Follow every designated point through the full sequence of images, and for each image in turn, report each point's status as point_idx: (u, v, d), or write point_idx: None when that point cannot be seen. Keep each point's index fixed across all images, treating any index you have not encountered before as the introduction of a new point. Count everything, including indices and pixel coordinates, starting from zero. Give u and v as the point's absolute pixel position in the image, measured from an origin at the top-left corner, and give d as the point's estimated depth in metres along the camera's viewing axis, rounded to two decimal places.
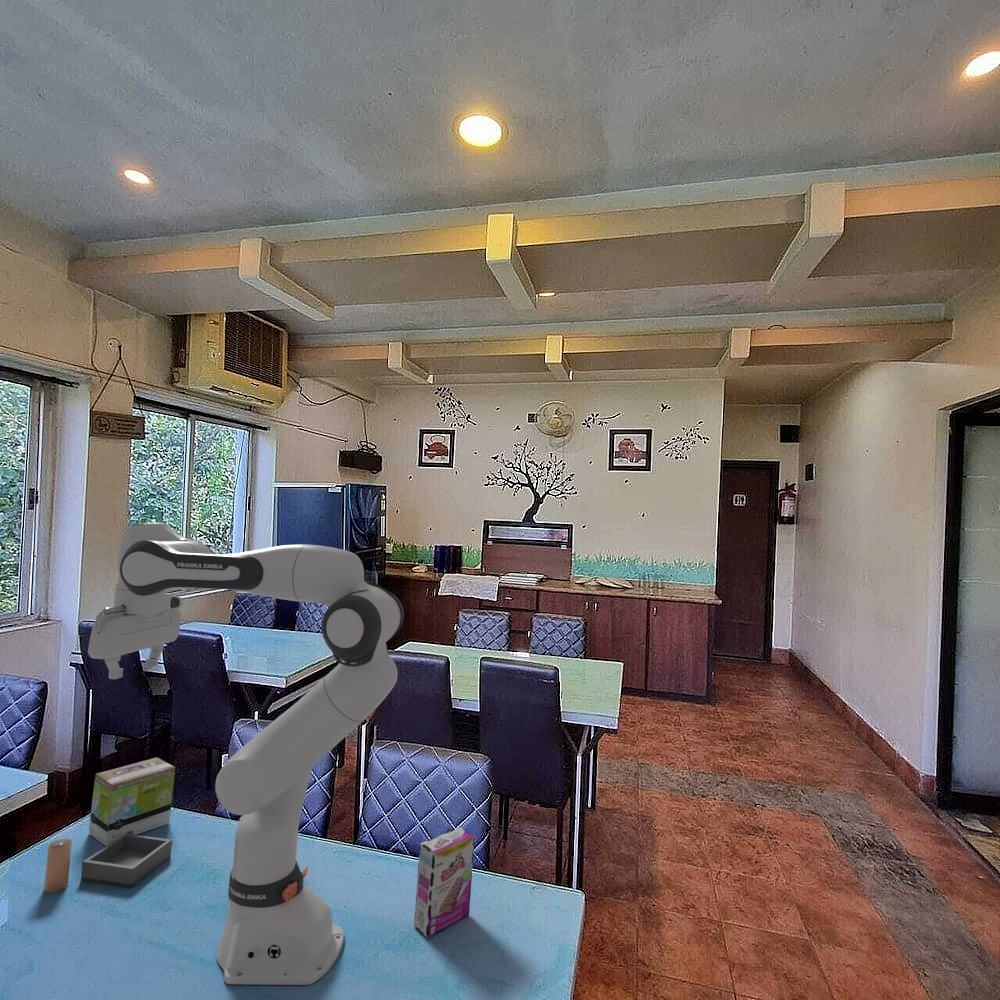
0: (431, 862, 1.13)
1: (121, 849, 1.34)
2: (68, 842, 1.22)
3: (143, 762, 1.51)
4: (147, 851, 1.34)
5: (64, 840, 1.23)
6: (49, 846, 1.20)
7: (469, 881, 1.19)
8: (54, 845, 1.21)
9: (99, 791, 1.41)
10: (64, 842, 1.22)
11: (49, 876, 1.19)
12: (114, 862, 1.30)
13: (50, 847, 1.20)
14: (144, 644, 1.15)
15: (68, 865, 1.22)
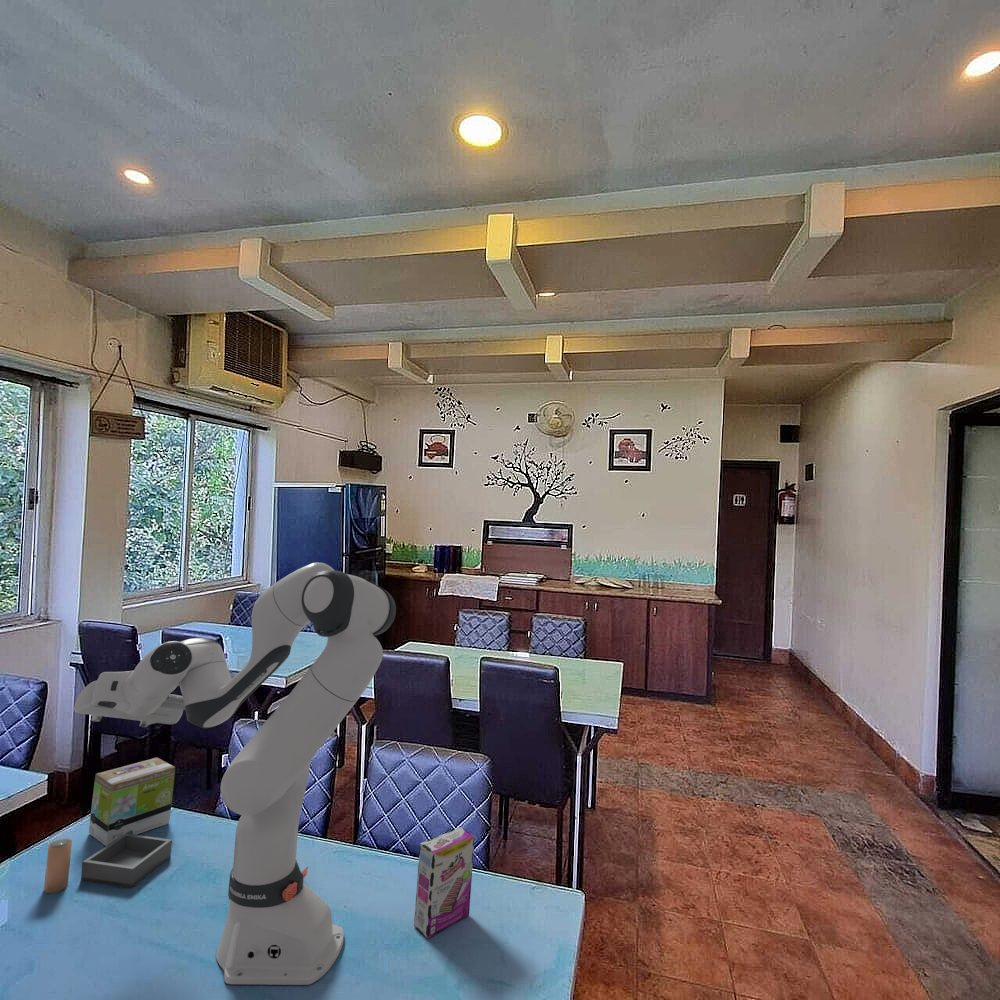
0: (431, 862, 1.13)
1: (121, 849, 1.34)
2: (68, 842, 1.22)
3: (143, 762, 1.51)
4: (147, 851, 1.34)
5: (64, 840, 1.23)
6: (49, 846, 1.20)
7: (469, 881, 1.19)
8: (54, 845, 1.21)
9: (99, 791, 1.41)
10: (64, 842, 1.22)
11: (49, 876, 1.19)
12: (114, 862, 1.30)
13: (50, 847, 1.20)
14: None
15: (68, 865, 1.22)
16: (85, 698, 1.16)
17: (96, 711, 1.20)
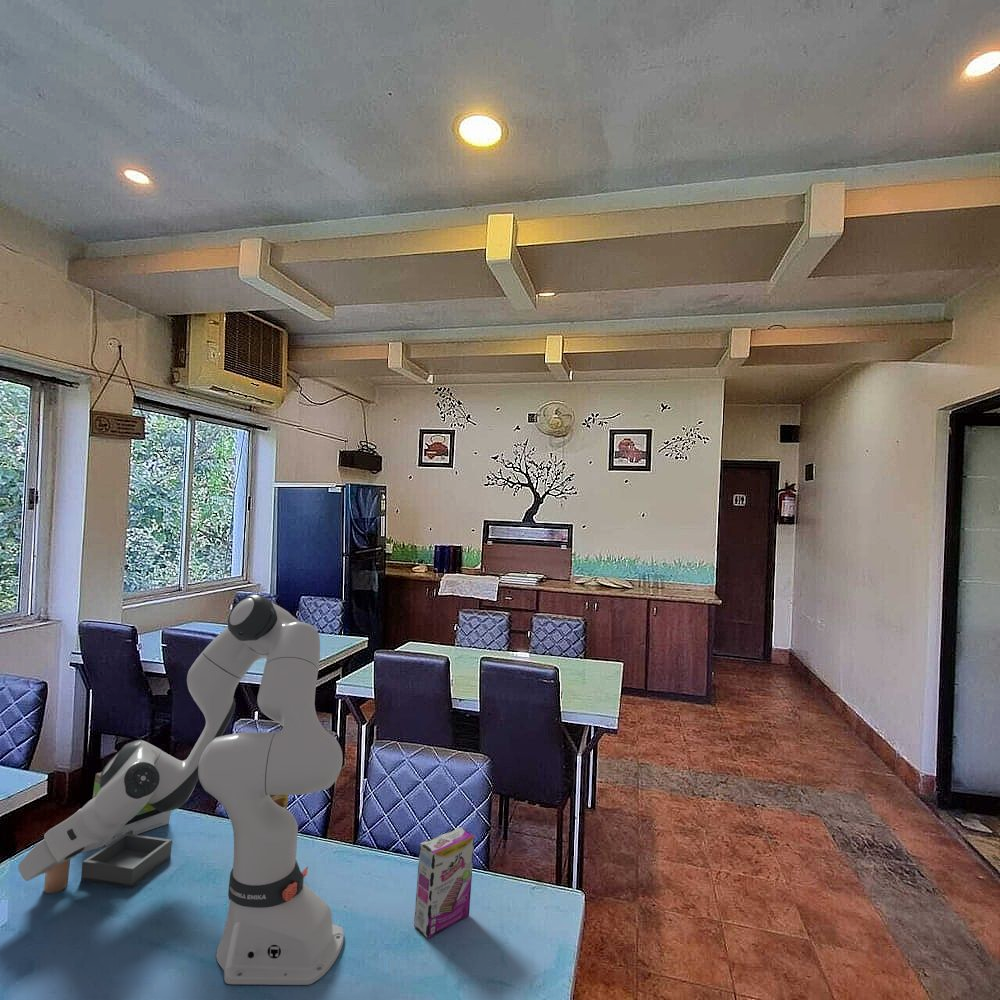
0: (431, 862, 1.13)
1: (121, 849, 1.34)
2: None
3: None
4: (147, 851, 1.34)
5: None
6: None
7: (469, 881, 1.19)
8: None
9: None
10: None
11: (49, 876, 1.19)
12: (114, 862, 1.30)
13: None
14: None
15: (68, 865, 1.22)
16: (42, 862, 1.11)
17: (49, 867, 1.14)
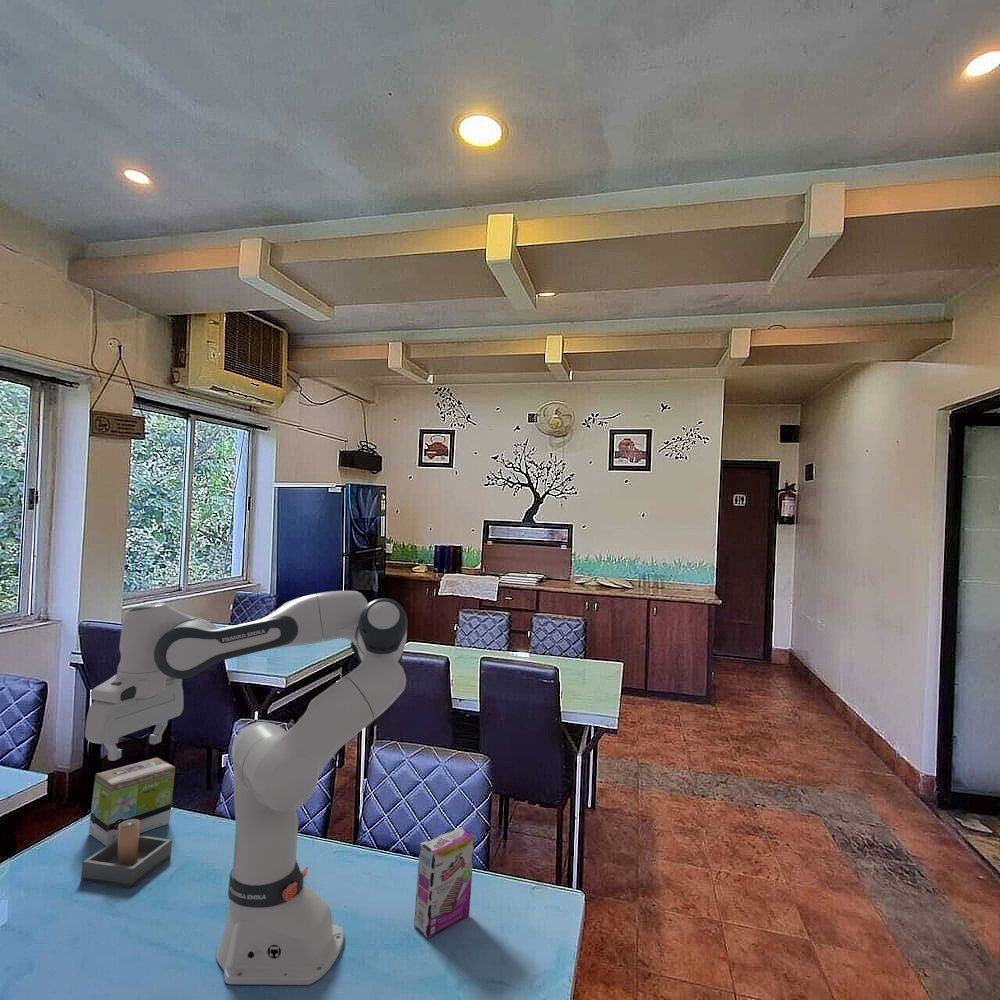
0: (431, 862, 1.13)
1: None
2: (136, 822, 1.30)
3: (143, 762, 1.51)
4: (147, 851, 1.34)
5: (131, 820, 1.30)
6: (119, 827, 1.28)
7: (469, 881, 1.19)
8: (123, 825, 1.28)
9: (99, 791, 1.41)
10: (133, 822, 1.30)
11: (122, 854, 1.27)
12: (114, 862, 1.30)
13: (121, 828, 1.27)
14: None
15: (138, 843, 1.30)
16: (102, 712, 1.09)
17: (118, 727, 1.12)
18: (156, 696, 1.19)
